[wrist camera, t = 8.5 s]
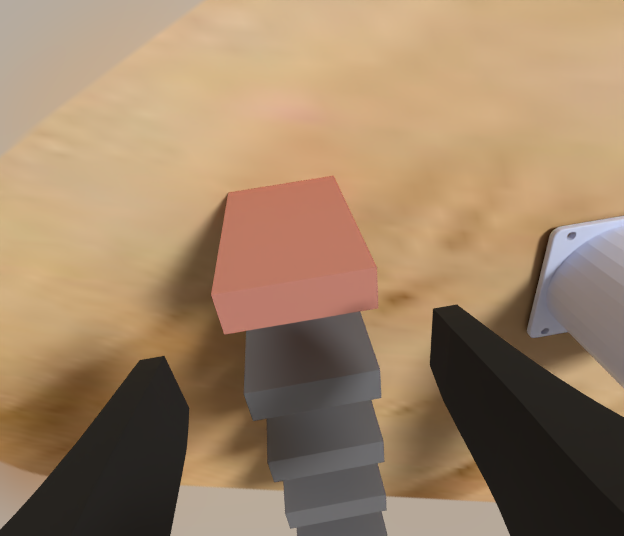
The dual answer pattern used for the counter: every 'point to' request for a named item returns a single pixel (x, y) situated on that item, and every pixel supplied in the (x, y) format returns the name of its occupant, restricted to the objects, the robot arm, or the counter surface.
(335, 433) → the domino
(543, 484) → the robot arm
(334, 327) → the domino
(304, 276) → the red domino
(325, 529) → the domino
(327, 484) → the domino
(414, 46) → the counter surface
